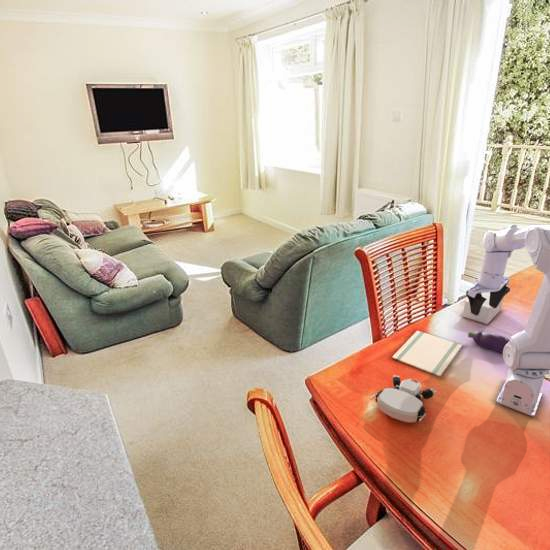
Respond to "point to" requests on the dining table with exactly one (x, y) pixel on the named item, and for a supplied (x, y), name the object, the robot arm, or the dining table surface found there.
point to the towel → (427, 352)
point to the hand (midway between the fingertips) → (483, 310)
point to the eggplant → (489, 340)
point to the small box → (482, 310)
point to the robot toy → (403, 400)
